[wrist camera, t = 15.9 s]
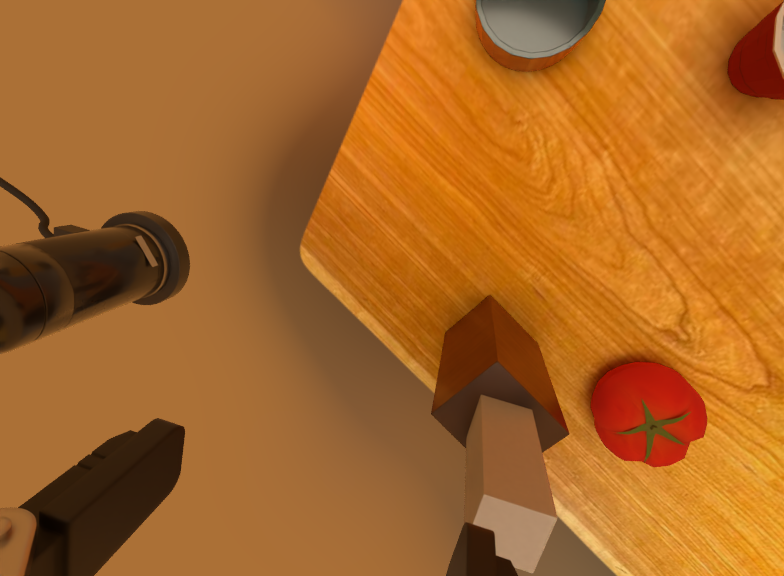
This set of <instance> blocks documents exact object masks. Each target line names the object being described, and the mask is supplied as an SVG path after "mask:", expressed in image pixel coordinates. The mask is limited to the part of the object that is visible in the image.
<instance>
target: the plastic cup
mask: <svg viewBox="0 0 784 576" xmlns="http://www.w3.org/2000/svg"><path fill="white" fill-rule="evenodd" d="M728 75H729V78H730V81H731V84H732V85H733V86H734V87H735V88H736V89H737V90H739V91H740V92H741V93H744V94H747V95H750V96H754V97H765V98H770V99H784V1H783V2H782V3H781V4H780V5H779V6H777V7H776V8H775V9H774V10H773V11H772V12H771V13H769V14H768V15H767V16H766V17H765V18H764V19H763V20H762V21H761V22H760V23H759V24H758V25H757V26H756V27H754V28H753V29H752V30H751V31H749V32H748V33H747V34H746V35H745V36H744V37H743V38H742V39H741V40H740V41H739V42H738V43H737V45H736V46H735V48H734V50H733V52H732V54H731V56H730V58H729V64H728Z"/></svg>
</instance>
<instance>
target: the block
mask: <svg viewBox="0 0 784 576" xmlns="http://www.w3.org/2000/svg"><path fill="white" fill-rule="evenodd" d="M556 520H557V515H556V510H555V506H554V502H553V497H552V493H551V489H550V484H549V480H548V476H547V472H546V467H545V463H544V459H543V454H542V450H541V446H540V441H539V437H538V433H537V428H536V424H535V420H534V416H533V411H532V410H531V409H528V408H524V407H521V406H518V405H514V404H511V403H508V402H505V401H501V400H498V399H495V398H491V397H488V396H485V395H481V396H480V399H479V402H478V405H477V408H476V411H475V414H474V416H473V419H472V422H471V425H470V428H469V431H468V434H467V439H466V472H465V505H464V523H465V522H468V523H471V524H474V525H477V526H480V527H483V528H486V529H489V530H492V531H494V534H495V547H496V556H499V557H502V558H505V559H508V560H511V562H512V564H513V566H514V567H515V568H518V569H521V570H524V571H527V572H530V573H533V572H534V570H535V568H536V566H537V563H538V561H539V559H540V557H541V554H542V552H543V550H544V547H545V545H546V543H547V540H548V538H549V536H550V534H551V532H552V529H553V527H554V525H555V523H556Z"/></svg>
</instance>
